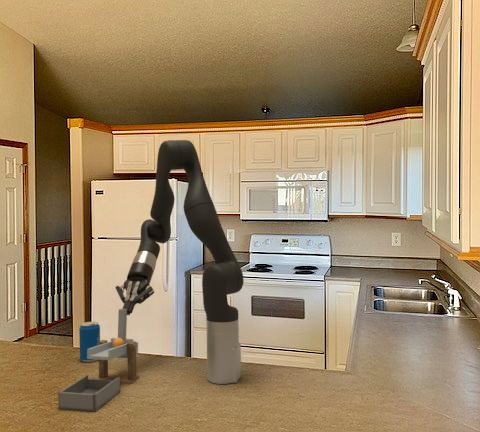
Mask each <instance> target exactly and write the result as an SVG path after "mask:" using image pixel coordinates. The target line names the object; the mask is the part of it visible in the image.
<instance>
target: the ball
mask: <svg viewBox="0 0 480 432" xmlns="http://www.w3.org/2000/svg"><path fill="white" fill-rule="evenodd" d="M121 345H124V341H123V339H122V338H118V337H116V339H115V340H114V341H113V347H114V348H116V347H118V346H121Z"/></svg>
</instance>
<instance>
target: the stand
mask: <svg viewBox="0 0 480 432" xmlns="http://www.w3.org/2000/svg"><path fill="white" fill-rule="evenodd" d="M107 342H108V340H106V339H100V342H98V345H101V344H104V343H107ZM136 342H137V341H136V340H135V341H134V340H133V341H130V342H129V343H127V358H126V361H127V374H114V373H109V360H98V377H97V379H100V380H114V379H116V378H117V377H120V384H127V385H128V384H129V385H133V384H134V383H135V382H136V381H137V380H138V379H140V376H139V375H137V356H136V348H137V344H136Z"/></svg>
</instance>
